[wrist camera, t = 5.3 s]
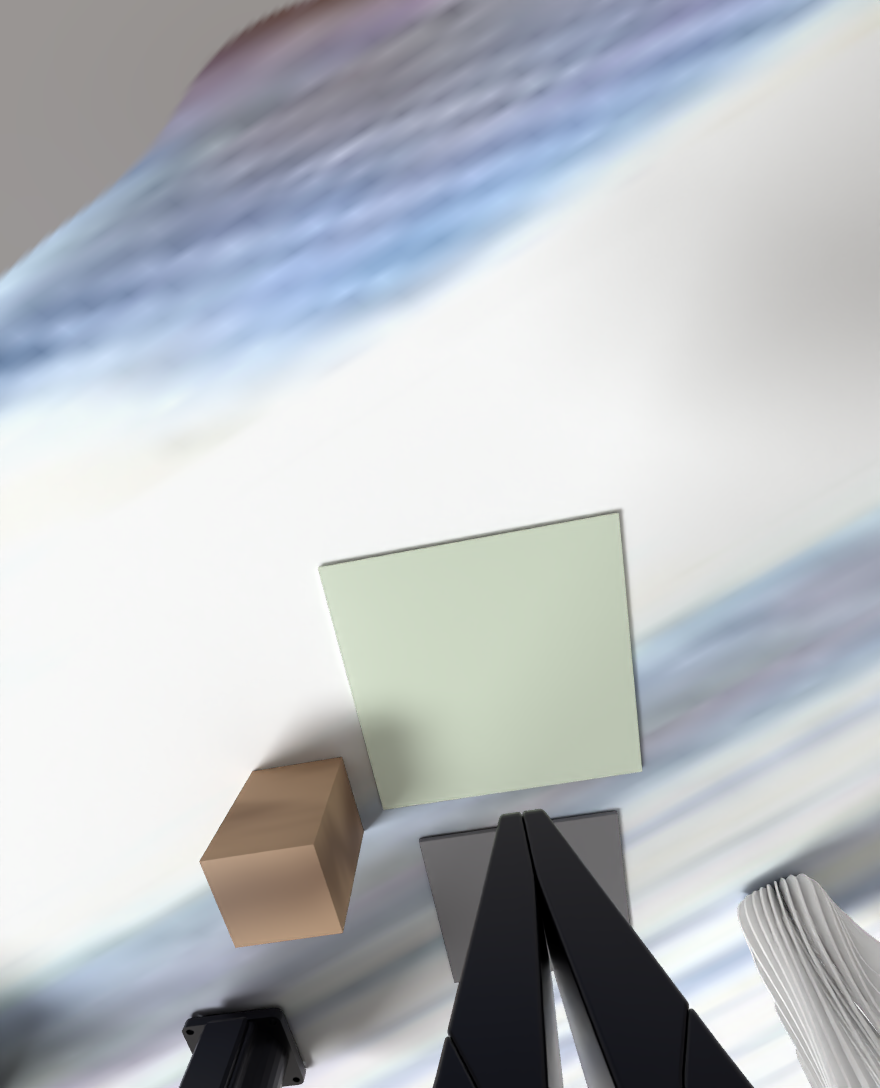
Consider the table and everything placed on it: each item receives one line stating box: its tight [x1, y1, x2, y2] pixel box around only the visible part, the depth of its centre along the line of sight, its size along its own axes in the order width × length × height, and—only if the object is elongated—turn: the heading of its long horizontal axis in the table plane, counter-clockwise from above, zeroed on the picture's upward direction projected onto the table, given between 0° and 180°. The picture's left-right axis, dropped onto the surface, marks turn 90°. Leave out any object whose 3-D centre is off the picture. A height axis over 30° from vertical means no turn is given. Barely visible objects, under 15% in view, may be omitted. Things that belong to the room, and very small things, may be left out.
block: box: [199, 757, 364, 948], centre depth 20 cm, size 5×5×5 cm
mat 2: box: [419, 811, 630, 983], centre depth 24 cm, size 11×11×1 cm
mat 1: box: [318, 513, 642, 810], centre depth 20 cm, size 14×14×1 cm
